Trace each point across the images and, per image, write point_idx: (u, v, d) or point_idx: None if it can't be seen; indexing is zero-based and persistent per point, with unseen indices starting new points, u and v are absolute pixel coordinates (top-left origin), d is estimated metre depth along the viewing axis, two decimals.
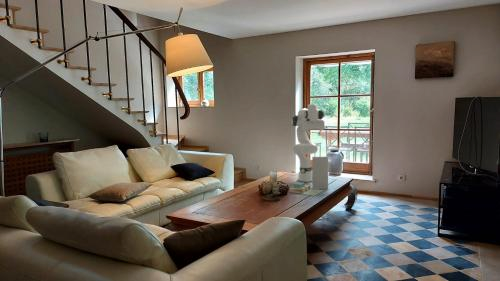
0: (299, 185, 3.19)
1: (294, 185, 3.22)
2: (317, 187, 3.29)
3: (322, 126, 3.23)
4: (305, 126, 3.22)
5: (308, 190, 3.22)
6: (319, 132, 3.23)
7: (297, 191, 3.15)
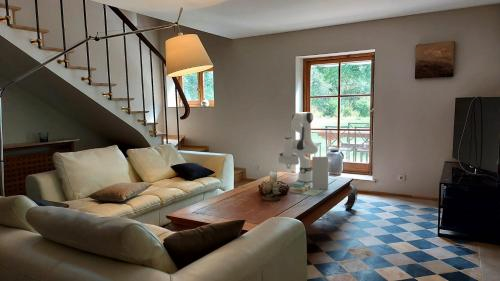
0: (299, 185, 3.19)
1: (294, 185, 3.22)
2: (317, 187, 3.29)
3: (294, 162, 3.22)
4: (279, 160, 3.31)
5: (308, 190, 3.22)
6: (288, 167, 3.27)
7: (297, 191, 3.15)
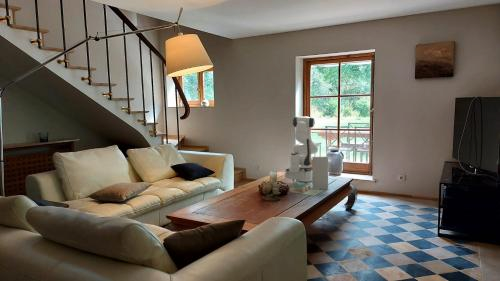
0: (300, 185, 3.18)
1: (295, 185, 3.21)
2: (317, 187, 3.29)
3: (301, 178, 3.19)
4: (286, 175, 3.29)
5: (308, 190, 3.22)
6: (295, 182, 3.25)
7: (297, 191, 3.15)
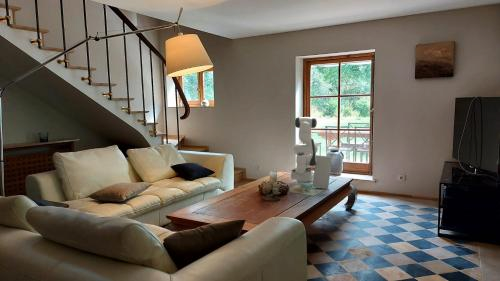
0: (306, 186, 3.14)
1: (301, 186, 3.17)
2: (317, 186, 3.28)
3: (307, 178, 3.16)
4: (292, 176, 3.25)
5: (308, 190, 3.22)
6: (301, 183, 3.21)
7: (297, 191, 3.15)
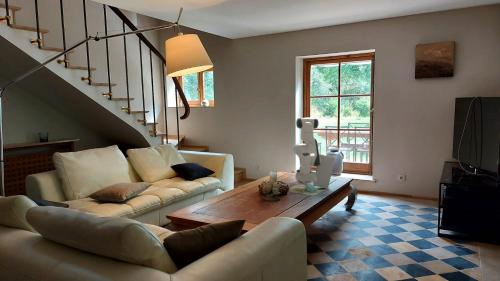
0: (311, 190, 3.12)
1: (306, 187, 3.15)
2: (318, 185, 3.28)
3: (312, 179, 3.13)
4: (296, 176, 3.22)
5: None
6: (306, 184, 3.18)
7: (297, 191, 3.15)
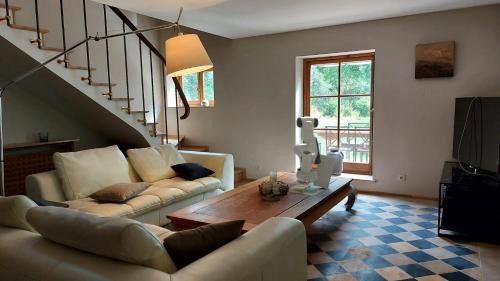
0: (311, 190, 3.12)
1: (306, 190, 3.15)
2: (318, 185, 3.28)
3: (313, 177, 3.12)
4: (297, 175, 3.22)
5: None
6: (306, 182, 3.18)
7: (297, 191, 3.15)
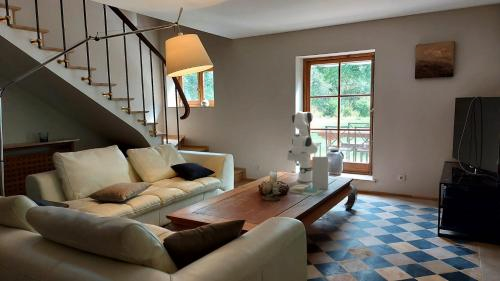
0: (311, 190, 3.12)
1: (306, 190, 3.15)
2: (317, 187, 3.29)
3: (304, 159, 3.20)
4: (288, 157, 3.29)
5: None
6: (297, 164, 3.26)
7: (297, 191, 3.15)
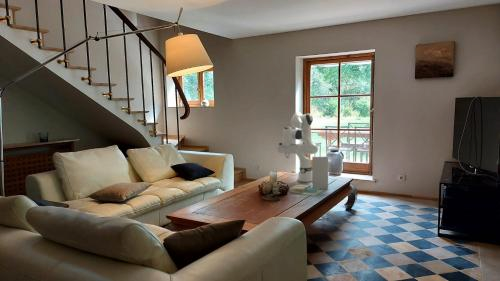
0: (311, 190, 3.12)
1: (306, 190, 3.15)
2: (317, 187, 3.29)
3: (293, 151, 3.29)
4: (278, 149, 3.39)
5: None
6: (287, 156, 3.35)
7: (297, 191, 3.15)
